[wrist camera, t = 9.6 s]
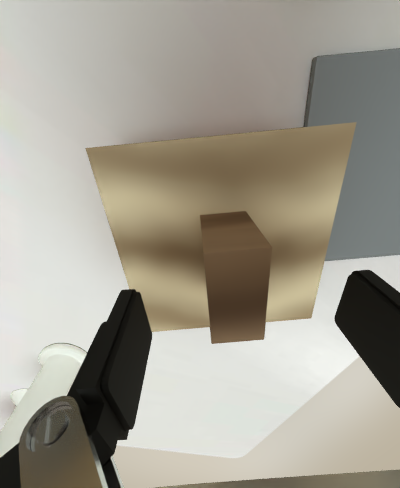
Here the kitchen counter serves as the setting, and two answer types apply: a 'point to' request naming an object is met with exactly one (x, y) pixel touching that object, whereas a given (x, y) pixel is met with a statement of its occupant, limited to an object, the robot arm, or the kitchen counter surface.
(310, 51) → the kitchen counter surface
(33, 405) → the candle
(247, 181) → the lid
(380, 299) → the robot arm
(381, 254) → the mat
